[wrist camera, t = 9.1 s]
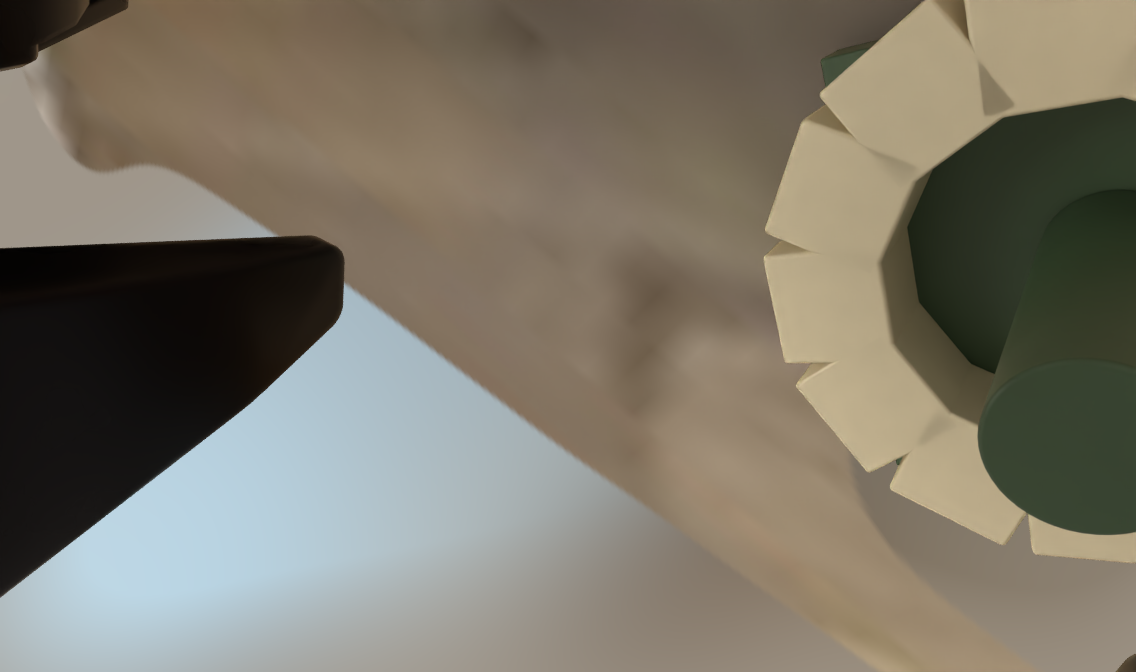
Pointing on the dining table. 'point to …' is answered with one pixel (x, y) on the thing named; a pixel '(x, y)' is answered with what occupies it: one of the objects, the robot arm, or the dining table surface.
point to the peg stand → (1041, 300)
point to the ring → (882, 249)
